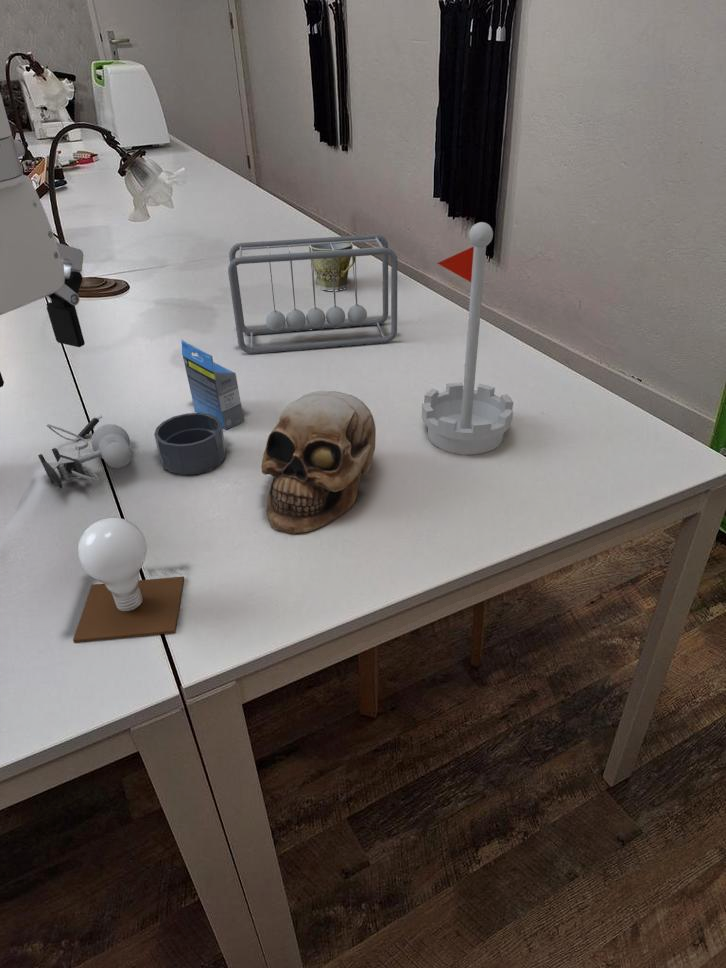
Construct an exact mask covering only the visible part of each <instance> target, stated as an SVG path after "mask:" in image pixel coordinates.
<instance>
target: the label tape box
mask: <svg viewBox="0 0 726 968" xmlns="http://www.w3.org/2000/svg"><path fill="white" fill-rule="evenodd" d="M180 342H181V355H182V359H183V363H184V367H185V373H186V376H187V381H188V386H189V390H190V395H191V399H192V404H193V408H194V412H195V413H204V414H210V415H212V416H215V417H217V418H218V419H219V421H220V422H221V423H222V429H224V430H228V429H230V428H232V427H235V426H237V425H239V424H241V423H242V422H244V421H245V417H244V411H243V406H242V401H241V396H240V390H239V385H238V379H237V374H236V372H234V371H232V370H230V369H228V368H226V367H224V366H223V365H220V364H218V363H216V362H214V359H213V355H211V354H209V353H207V352H205V351H204V350H202V349H200V348H199V347H196V346H194V345H193V344H191V343H189V342H187V341H186V340H183V339H182V338H181V341H180ZM193 354H194V355H193Z"/></svg>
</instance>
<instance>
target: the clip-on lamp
mask: <svg viewBox="0 0 726 968" xmlns="http://www.w3.org/2000/svg"><path fill="white" fill-rule="evenodd" d="M100 419H103V415H99V416H96V417H93V418H92V419H91V420H90V421H89V422H88V424H86V425H85V426H84V428H83V429H82V430H80V432H78V434H76V433H74V432H72V431H69V430H66V429H64V428H61V427H59V426H56V425H53V424H49V423H47V424H46V427H47V428H48V429H49V430H51V431H52V432H53V433H55V434H56V435H58V436H59V437H61V438H63V439H65V440H67V441H72V442H76V441H79V440H81V441H83V442H85V444H83V445H79V446H78V445H75V446H74V449H75V450H76V452H77V455H78V456H77V457H74V458H73V457H69V456H66V455H63V454H60V451H59V450H58V448H57V447H53V448H51V452H52V454H53V456H54V459H55V461H56V462H48V461H46V459H45V457H44V455H43V454H42V453H40V454H37V456H38V458H39V461H40V463H41V464H42V467H43V468H44V471H45V473H46V475H47V477H48V479H49V482H50V483H51V484H52V485H56V486H57V488H58V489H59V490H61V489H63V488H64V486H63V485H64V484H66V482H67V481H69V480H70V481H71V480H77V479H83V480H87V481H91V482H98V480H99V476H98V475H97V474H96V473H95V472H94V471H93V470H91V469H90V468H85V469H84V468H83V463H86V462H89V461H91V460H94V459H98V458H100V459H102V460H104V462H105V463H106V465H108V466H109V467H111V468H116V469H120V468H124V467H126V466H127V465H128V464H129V463H130V461H131V460H132V456H133V453H132V450H131V448H130V446H131V440H130V435H129V434H128V432H127V431H126V430H125V429H124V428H123V427H122V426H120V425H117V424H115V423H114V424H112V423H107V424H103V425H101V426H99V427H98V428H96V429H95V427H96V425H98V423H99V422H100ZM93 429H95V430H94V432H93V434H92V436H91V440H90V444H91V448H92V450H93V451H91V452H88V453H86V454H82V455H81V452H80V451H81V450H84V449H86V448H88V446H89V442H88V441H87V439H85V437H86V436H89V435H90V433H91V432H92V431H93ZM56 430H58V431H61V432H64V433H66V434H69V435H71V436H73V437H76V438H69V437H66V436H64V435H62V434H60V432H57V431H56ZM56 470H57V471H58V473H59V475H58V473H57V471H56ZM87 473H88V474H90V475H91V476H88V475H86V474H87ZM59 476H60V477H59Z"/></svg>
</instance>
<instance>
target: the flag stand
mask: <svg viewBox="0 0 726 968" xmlns="http://www.w3.org/2000/svg"><path fill="white" fill-rule="evenodd" d="M493 236H494V231H493V228H492V227H491V225H490V224H489V223H487V222H484V221H479V222H477V223H475V224H473V225H472V227H470V230H469V232H468V240H469V242H470V244H471V245H472V247H469V248H467V249H465V250H462V251H460V252H458V253H456V254H454V255H452V256H450V257H448V258H445V259H443V260H441V261H439V262H437V265H439V266H441V267H442V268H445V269H446V270H448V271H450V272H452V273H453V274H455V275H457V276H459V277H461V278H462V279H464V280H466V281H468V282H469V283H470V294H469V309H468V320H467V333H466V346H465V347H466V348H465V349H466V350H465V360H464V361H465V362H464V373H463V375H464V376H463V382H452V383H446V384H445V391H440V392H439V390H438V389H435V388H432V389H430V390H428V391H427V392H426V393H425V394H424V397H423V403H421V420H422V422H423V424H424V425H425V427H426V428H427V430H428V431H427V437H428V439H429V441H430V443H431V444H433V445H434V446H435V447H437V448H438V449H440V450H442V451H445V452H447V453H452V454H455V455H465V456H466V455H468V456H471V455H481V454H485V453H488V452H491V451H494V450H495V449H497V448H498V447H499V446H501V443H502V442H503V439H504V433H505V432H506V431H508V430H509V429H510V427H511V425H512V423H513V417H514V410H513V407H514V401H513V399H512V397H511V396H510V395H508V393H506V394H501V395H500V396H498V395H496V394H495V391H496V389H495V388H496V387H494V386H490V385H489V384H483V383H479V384H478V385H477V387H476V388H477V389H475V384H476V372H477V359H478V348H479V336H480V325H481V312H482V301H483V288H484V276H485V264H486V253H487V246H489V244H490V243H491V242H492V240H493Z"/></svg>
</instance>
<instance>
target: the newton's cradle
mask: <svg viewBox="0 0 726 968" xmlns="http://www.w3.org/2000/svg"><path fill="white" fill-rule="evenodd" d="M372 242H377V244H378V245H379V247H363V248H355V246H354V244H359V243H372ZM343 243H351V249H347V250H332V249H333V247H332V248H331V251H316V252H311V251H312V249H311V246H312V245H327V244H330V246H332V245H331V244H343ZM352 243H353V244H352ZM352 245H353V247H352ZM309 246H310V251H303V252H302V251H301V252H291V248H294V247H295V248H296V247H309ZM279 248H281V249H282V248H288V253H287V252H286V253H273V254H271V253H270V249H279ZM265 249H267V253H268V254H257V255H256V254H255V255H243V256H242V253H243V252H242V251H245V250H246V251H247V250H248V251H249V250H265ZM237 252H238V253H239V256H238V257H236V254H237ZM354 256H355V263H354V264H353V266H352V272H353V273H352V274H353V283H354V284H353V286H354V294H355V295H354V297H355V304H354V305H352V306H350V307H349V309H348V311H347V319H348V321H346V312H345V310H344V309H343V308H342V307H340V306H337V304H336V303H337V302H336V300H337V299H336V292H335V263H334V278H333V291H334V292H333V306H331V307H329V308H328V310H327V311H326V313H325V312H324V310H322V309H321V308H319V307H317V305H316V288H315V286H316V285H315V270H314V266H313V259H324V258H331V261H332V258H333V259H334V258H339V257H351V260H352V262H353V257H354ZM366 256H382V259H381V261H382V315H381V316H380V317H379V318H375V319H367V317H368V312H367V309H366V308H365V307H364V306H363V305H361V304H358V286H357V284H358V283H357V280H356V278H357V259H356V258H357V257H366ZM389 257H390V260H391V261H390V262H391V264H390V266H391V267H390V270H391V271H390V272H391V273H390V276H391V277H390V297H391V298H390V314H391V315H390V316H391V317H390V319H391V320H390V330H391V331H390V333H389V334H388V335H387V336H385V334H384V331H383V330H382V327H381V326H380V325H382V324H384V323H385V322H386V321H387V319H388V317H389ZM228 259H229V264H228V267H227V274H228V280H229V281H228V282H229V287H230V295H231V296H230V297H231V302H232V309H233V316H234V322H235V323H234V324H235V330H236V338H237V344H238V347H239V348H240V350H241V351H243V352H244V353H246V354H250V355H254V354H256V355H257V354H266V353H279V352H290V351H304V350H303V349H305V350H316V349H315V348H317V349H327V348H326V347H330V348H339V347H338V346H342V347H352V346H351V345H354V346H364V345H363V344H366V345H377V344H376V343H379V344H386V343H390V342H392V341H393V340H394V339H395V338H396V336H397V333H398V273H399V271H398V270H399V269H398V268H399V267H398V266H399V265H398V263H399V262H398V260H399V259H398V255H397V253H396V252H395V251H394V250H393V249H391V248H389V242H388V241H387V238H386V237H384V236H383V235H381V234H375V233H373V234H359V235H358V234H357V235H345V236H343V235H342V236H328V237H327V236H325V237H312V238H295V239H282V240H281V239H280V240H265V241H264V240H263V241H249V242H248V241H247V242H239V243H235V244H233V245H232V247H230V250H229V252H228ZM307 260H310V268H311V279H312V292H313V304H314V307H313V308H310V309H309V310H308V311H307V313H306V314H305V313H304V312H303V311H301V310H300V309H297V308H296V298H295V296H296V295H295V283H294V273H293V272H294V271H293V262H294V261H307ZM276 262H277V263H278V262H289V263H290V275H291V284H292V296H293V297H292V298H293V307H294V308H293V309H291V310H290V311H288V313H287V314H286V316H285V314H283V313H282V312H281V311H279V310H276V304H275V295H274V286H273V284H274V283H273V276H272V267H271V266H272V265H271V263H276ZM352 262H351V263H352ZM262 263H263V264H264V263H269V273H270V283H271V292H272V301H273V310H272V311H270V312H269V313H268V314H267V315H266V318H265V323H266V326H267V327H263V328H248V327H247V326H246V325H245V319H244V318H245V317H244V312H243V311H244V310H243V304H242V295H241V289H240V288H241V287H240V281H239V273H238V266H239V265H247V264H262ZM332 276H333V263H332ZM306 323H307V324H306ZM286 324H287V326H286ZM374 324H377V325H376V326H377V328H378V330H379V332H380V334H381V336H380V337H370V338H356V339H355V338H354V339H343V340H332V341H331V340H330V341H320V342H319V341H318V342H305V343H294V344H291V343H290V344H281V345H267V346H254V336H255V335H270V334H281V333H292V332H293V331H296V332H302V331H301V330H308V331H311V330H310V329H321V330H324V329H323V328H334V329H337V328H336V327H347V328H351V327H350V326H360V327H363V326H362V325H372V326H375V325H374ZM379 324H380V325H379ZM293 333H294V332H293ZM244 334H246V335H248V336H250V347H249V346H247V345H246V343H245V337H244Z"/></svg>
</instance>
